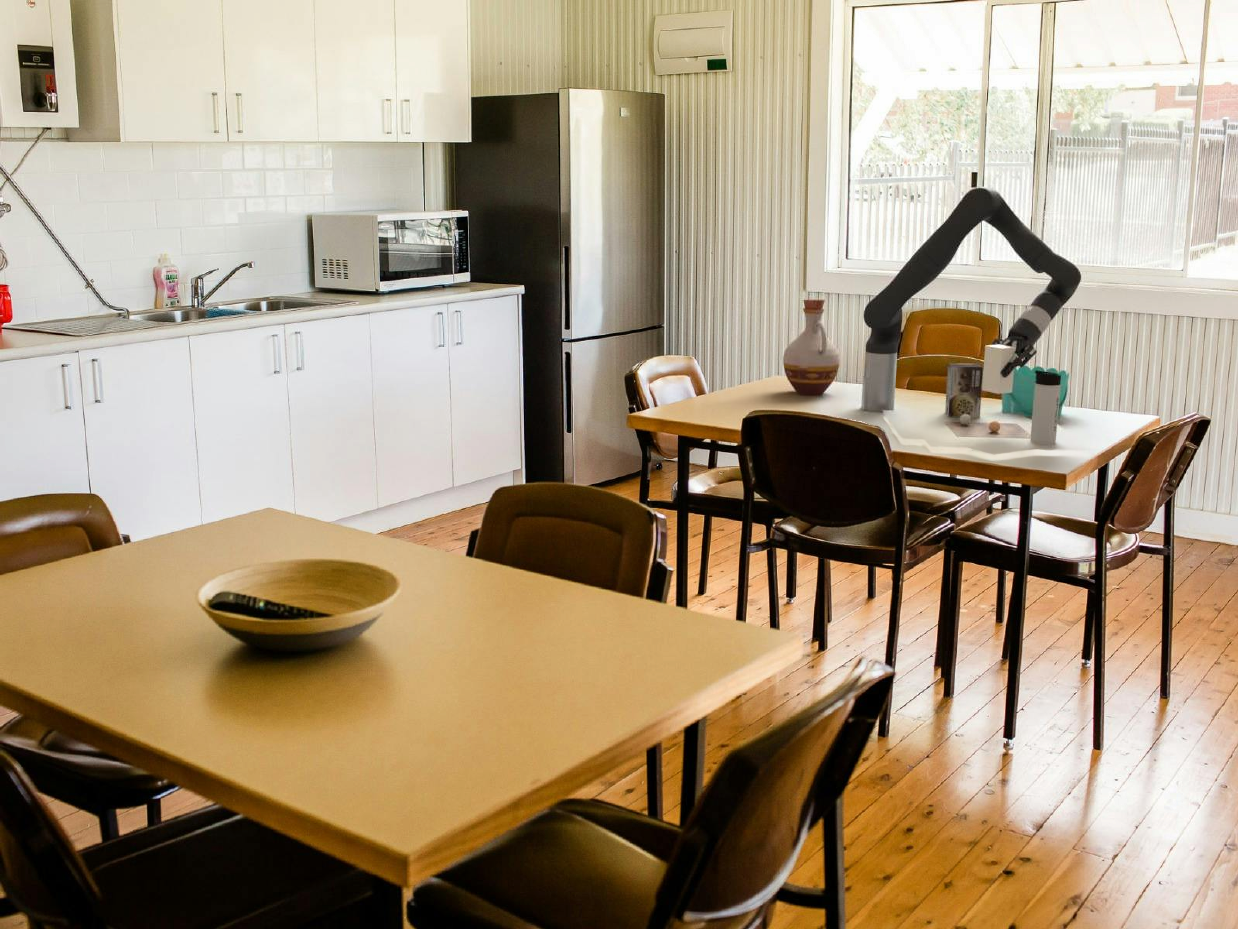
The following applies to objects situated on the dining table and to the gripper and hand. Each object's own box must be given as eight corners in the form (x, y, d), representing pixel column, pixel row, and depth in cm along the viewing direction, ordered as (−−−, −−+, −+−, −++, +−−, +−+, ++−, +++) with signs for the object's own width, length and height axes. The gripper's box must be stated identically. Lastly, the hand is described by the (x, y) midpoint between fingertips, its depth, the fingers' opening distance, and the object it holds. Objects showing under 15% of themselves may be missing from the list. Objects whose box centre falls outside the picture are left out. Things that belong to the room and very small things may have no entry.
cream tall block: (995, 388, 349) (999, 344, 346) (1011, 392, 344) (1016, 347, 341) (981, 390, 347) (985, 345, 344) (998, 393, 342) (1002, 348, 339)
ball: (989, 433, 346) (990, 422, 346) (987, 430, 349) (988, 419, 349) (1000, 433, 346) (1001, 422, 346) (998, 431, 349) (999, 420, 349)
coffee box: (976, 418, 374) (980, 363, 371) (979, 422, 368) (984, 366, 365) (943, 417, 375) (947, 362, 372) (947, 422, 369) (951, 365, 365)
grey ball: (960, 425, 356) (961, 415, 355) (958, 423, 359) (959, 413, 358) (971, 426, 355) (972, 415, 355) (969, 424, 358) (970, 413, 358)
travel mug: (1024, 444, 340) (1031, 368, 335) (1049, 444, 340) (1055, 368, 336) (1034, 449, 334) (1040, 372, 329) (1059, 449, 334) (1065, 372, 330)
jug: (849, 398, 405) (854, 301, 398) (795, 400, 401) (799, 302, 394) (825, 388, 424) (829, 295, 417) (773, 389, 420) (777, 296, 413)
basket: (1063, 409, 390) (1067, 367, 387) (1068, 420, 373) (1072, 376, 370) (997, 406, 395) (1000, 364, 392) (999, 417, 378) (1002, 373, 375)
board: (956, 441, 342) (957, 436, 342) (943, 427, 362) (944, 421, 361) (1034, 443, 341) (1034, 438, 340) (1016, 428, 360) (1017, 423, 360)
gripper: (1003, 314, 351) (967, 360, 348) (1044, 320, 338) (1007, 368, 336) (1016, 332, 354) (980, 378, 351) (1057, 339, 342) (1020, 387, 339)
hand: (993, 373), depth 344 cm, fingers closed on cream tall block, 6 cm apart
